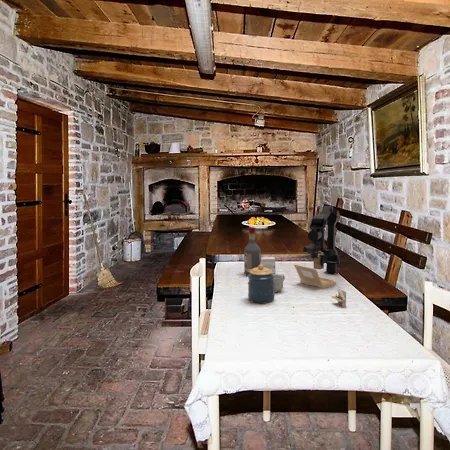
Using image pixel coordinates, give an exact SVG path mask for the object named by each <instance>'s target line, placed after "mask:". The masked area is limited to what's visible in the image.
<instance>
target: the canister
mask: <svg viewBox="0 0 450 450" xmlns="http://www.w3.org/2000/svg"><path fill="white" fill-rule="evenodd" d="M249 272H250V274H249V275H248V276H247V278H248V282H247V284H248V285H247V287H248V294H247V297H248V300H249V301H250V302H252V303H253V304H269V303H272V302H273V301H274V300H275V292H274V282H273V278H274V275H273V274H272V270H270V269H269V268H265V267H263V265H261V264H260V265H259V266H258V267H256V268H253V269H252V270H250V271H249Z"/></svg>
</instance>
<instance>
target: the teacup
mask: <svg viewBox="0 0 450 450" xmlns="http://www.w3.org/2000/svg"><path fill="white" fill-rule="evenodd" d="M273 275H274V278H273V282H274V293H277V292H280V291H281V290H282V289H283V288H284V281H285V279H286V277H285V275H284V274H283V273H282V274H277V273H275V274H273Z"/></svg>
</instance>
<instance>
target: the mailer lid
mask: <svg viewBox="0 0 450 450" xmlns="http://www.w3.org/2000/svg"><path fill="white" fill-rule="evenodd" d="M294 268H295V270H296V272H297V274H298V277H299V279H303V280H307V281H310V282H314V283H318V284H322V282H321V280H320V277H321V276H320V275H319V272H318V271H317V270H318V269H314V267H310V266H309V267H308V266H306V265H305V266H304V265H299V264H295V263H294Z"/></svg>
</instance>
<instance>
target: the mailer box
mask: <svg viewBox="0 0 450 450" xmlns="http://www.w3.org/2000/svg"><path fill="white" fill-rule="evenodd" d="M319 277H320V280H321V282H322V284H318V283H314V282H310V281H307V280H303V279H300V278H299V279H300V284H301V283H302V284H304V285H309V286H313V287H316V288H320V289H326V288H329V287H332V286H335V285H336V284H337V281H336V280H334V279H330V278H326V277H322V276H319ZM334 284H335V285H334Z"/></svg>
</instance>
